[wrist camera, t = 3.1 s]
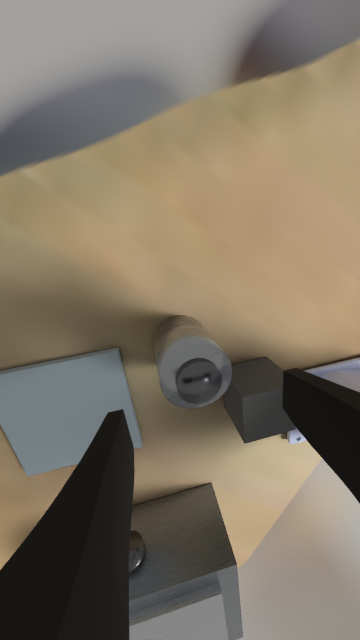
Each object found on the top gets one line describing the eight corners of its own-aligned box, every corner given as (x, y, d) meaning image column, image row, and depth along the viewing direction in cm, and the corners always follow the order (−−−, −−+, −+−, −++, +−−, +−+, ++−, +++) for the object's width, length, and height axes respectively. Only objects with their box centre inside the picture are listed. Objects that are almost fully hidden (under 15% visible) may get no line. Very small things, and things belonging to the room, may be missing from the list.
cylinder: (203, 311, 16) (234, 341, 11) (208, 358, 17) (238, 406, 12) (149, 321, 15) (154, 358, 10) (158, 369, 17) (167, 423, 12)
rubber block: (265, 356, 18) (298, 383, 15) (266, 395, 20) (295, 429, 16) (220, 366, 18) (242, 397, 14) (224, 405, 19) (244, 443, 15)
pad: (118, 347, 16) (117, 350, 15) (142, 440, 19) (142, 446, 18) (-18, 374, 15) (-24, 379, 14) (31, 469, 18) (27, 476, 17)
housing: (210, 478, 22) (239, 570, 15) (220, 552, 26) (245, 647, 20) (86, 513, 20) (63, 631, 14) (118, 586, 24) (111, 701, 18)
